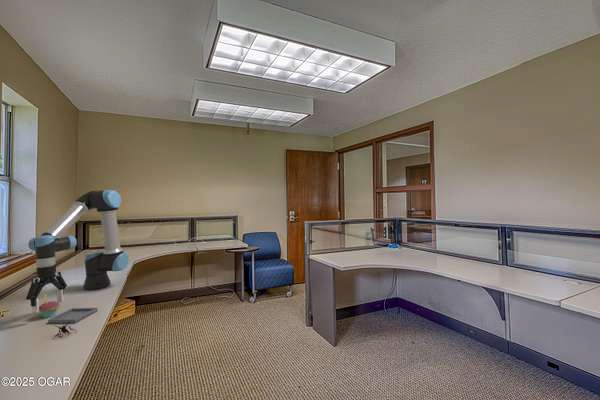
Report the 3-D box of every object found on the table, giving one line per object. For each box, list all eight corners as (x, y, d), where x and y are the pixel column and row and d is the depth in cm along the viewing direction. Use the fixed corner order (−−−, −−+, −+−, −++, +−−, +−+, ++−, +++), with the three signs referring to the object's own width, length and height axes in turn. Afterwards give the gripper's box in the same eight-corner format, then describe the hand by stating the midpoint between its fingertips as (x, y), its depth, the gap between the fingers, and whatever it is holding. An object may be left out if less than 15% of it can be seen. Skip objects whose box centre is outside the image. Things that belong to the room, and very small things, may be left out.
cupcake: (34, 320, 145) (33, 296, 145) (44, 313, 153) (43, 291, 153) (55, 317, 147) (53, 294, 147) (63, 311, 156) (62, 289, 155)
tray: (72, 311, 155) (72, 308, 155) (97, 311, 154) (97, 307, 154) (48, 323, 141) (47, 319, 141) (75, 323, 140) (75, 319, 140)
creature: (78, 336, 129) (73, 327, 134) (78, 325, 128) (73, 317, 133) (56, 344, 123) (51, 334, 128) (56, 332, 122) (51, 323, 127)
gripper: (60, 260, 162) (63, 298, 163) (14, 272, 137) (16, 317, 138) (73, 260, 162) (75, 298, 162) (28, 272, 137) (31, 317, 137)
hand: (48, 306), depth 150 cm, fingers open, 13 cm apart
